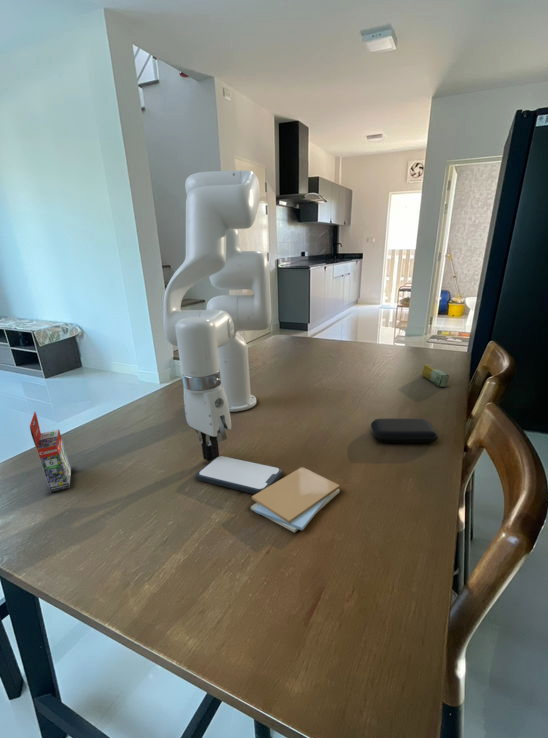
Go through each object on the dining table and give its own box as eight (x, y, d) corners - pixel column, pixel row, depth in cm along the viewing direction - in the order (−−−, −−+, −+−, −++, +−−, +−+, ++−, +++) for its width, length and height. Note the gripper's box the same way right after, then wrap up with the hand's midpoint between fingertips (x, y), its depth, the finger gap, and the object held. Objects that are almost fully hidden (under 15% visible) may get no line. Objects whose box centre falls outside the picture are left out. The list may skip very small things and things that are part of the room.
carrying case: (427, 425, 98) (368, 425, 99) (428, 414, 97) (369, 414, 98) (439, 445, 88) (375, 445, 89) (441, 433, 87) (375, 433, 88)
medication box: (447, 387, 123) (450, 375, 121) (439, 387, 122) (442, 375, 121) (427, 374, 134) (430, 363, 132) (420, 374, 133) (423, 363, 131)
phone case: (194, 481, 78) (263, 498, 71) (193, 474, 77) (263, 491, 71) (219, 460, 85) (284, 474, 79) (219, 454, 85) (283, 467, 78)
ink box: (71, 469, 83) (54, 407, 77) (70, 488, 76) (51, 422, 71) (52, 473, 82) (33, 411, 76) (49, 493, 75) (28, 426, 69)
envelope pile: (245, 509, 69) (244, 501, 68) (296, 471, 79) (296, 464, 79) (297, 538, 62) (297, 529, 61) (346, 492, 72) (346, 484, 72)
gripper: (240, 382, 75) (247, 461, 82) (194, 368, 84) (203, 441, 91) (211, 393, 70) (220, 477, 77) (164, 377, 79) (177, 453, 86)
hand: (211, 457), depth 84 cm, fingers closed
